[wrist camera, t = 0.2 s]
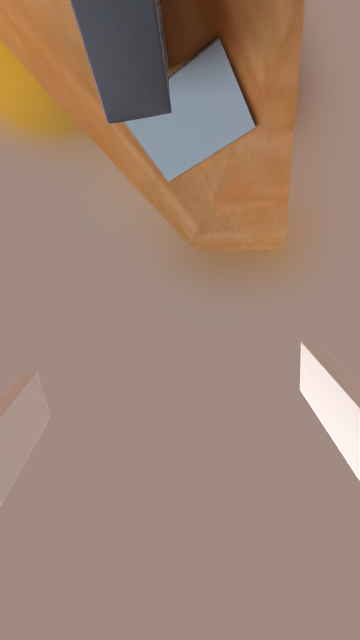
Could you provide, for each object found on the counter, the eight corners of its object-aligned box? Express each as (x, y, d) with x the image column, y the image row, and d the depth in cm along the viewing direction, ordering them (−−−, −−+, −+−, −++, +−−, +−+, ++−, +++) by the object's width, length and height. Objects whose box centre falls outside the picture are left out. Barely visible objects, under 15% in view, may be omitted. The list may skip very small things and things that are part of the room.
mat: (121, 114, 38) (120, 117, 37) (218, 37, 32) (219, 39, 32) (168, 179, 45) (168, 182, 45) (254, 124, 40) (255, 127, 39)
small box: (72, -68, 26) (50, -47, 20) (149, -85, 26) (150, -69, 20) (112, 81, 35) (105, 127, 29) (170, 70, 35) (175, 114, 29)
